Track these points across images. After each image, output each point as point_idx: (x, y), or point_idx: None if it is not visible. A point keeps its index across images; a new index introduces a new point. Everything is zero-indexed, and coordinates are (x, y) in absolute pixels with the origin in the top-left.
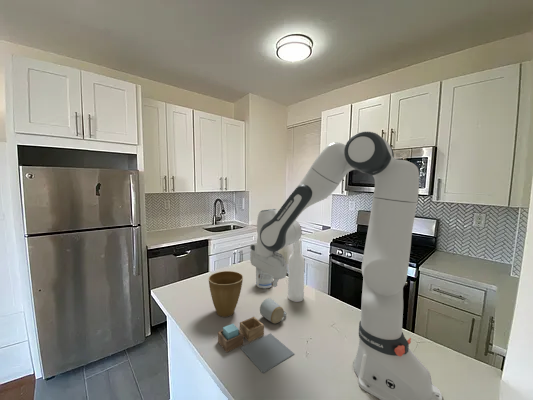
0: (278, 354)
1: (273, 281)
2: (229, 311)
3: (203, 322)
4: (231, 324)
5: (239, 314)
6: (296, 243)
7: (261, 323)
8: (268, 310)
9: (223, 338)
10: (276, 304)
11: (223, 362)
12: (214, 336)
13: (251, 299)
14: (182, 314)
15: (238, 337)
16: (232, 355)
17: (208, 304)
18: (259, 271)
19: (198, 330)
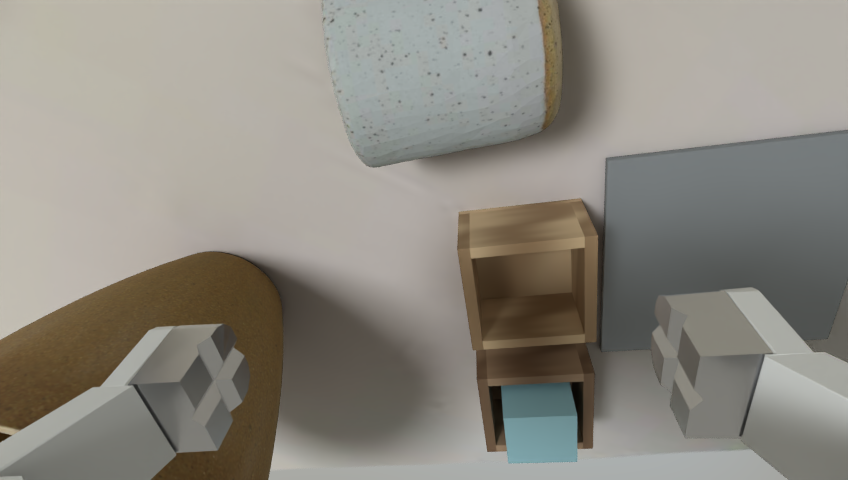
0: (808, 218)
1: (796, 472)
2: (282, 326)
3: (295, 408)
4: (509, 427)
5: (281, 236)
6: None
7: (571, 243)
8: (490, 144)
9: None
10: (496, 47)
11: (625, 423)
12: (435, 402)
13: (65, 56)
14: None
15: (592, 392)
16: (613, 387)
17: None
18: (98, 475)
19: (354, 437)
